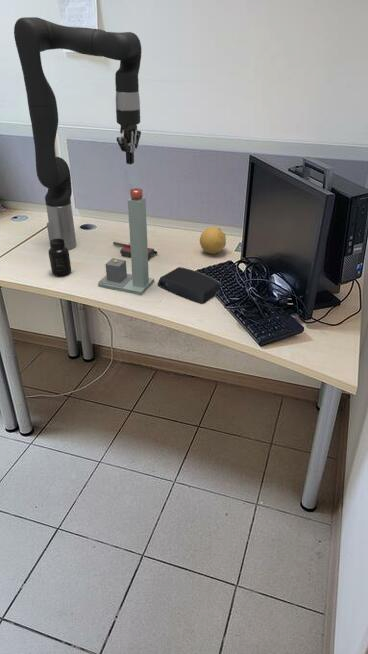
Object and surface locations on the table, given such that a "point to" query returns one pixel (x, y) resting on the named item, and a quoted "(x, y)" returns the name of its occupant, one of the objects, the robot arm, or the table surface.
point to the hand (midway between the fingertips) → (130, 163)
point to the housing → (116, 270)
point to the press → (135, 252)
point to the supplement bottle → (59, 258)
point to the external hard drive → (190, 285)
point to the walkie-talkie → (127, 250)
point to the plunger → (136, 193)
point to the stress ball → (212, 240)
